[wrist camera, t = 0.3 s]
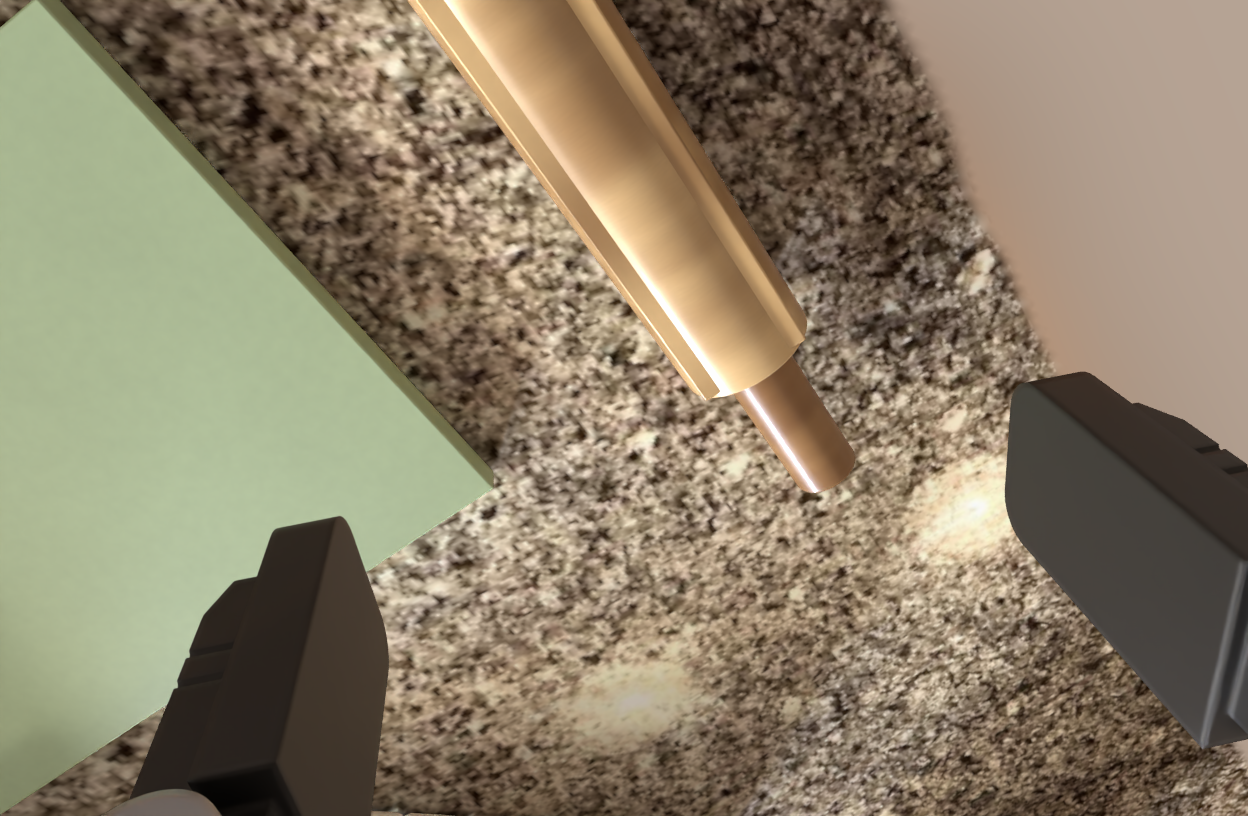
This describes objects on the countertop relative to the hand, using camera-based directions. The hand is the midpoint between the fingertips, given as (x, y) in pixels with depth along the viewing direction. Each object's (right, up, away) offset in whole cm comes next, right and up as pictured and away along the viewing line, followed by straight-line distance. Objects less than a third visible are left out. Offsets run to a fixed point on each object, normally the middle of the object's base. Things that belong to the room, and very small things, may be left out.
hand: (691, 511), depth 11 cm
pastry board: (-24, -2, +22) cm, 32 cm away
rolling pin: (-1, +10, +19) cm, 21 cm away
